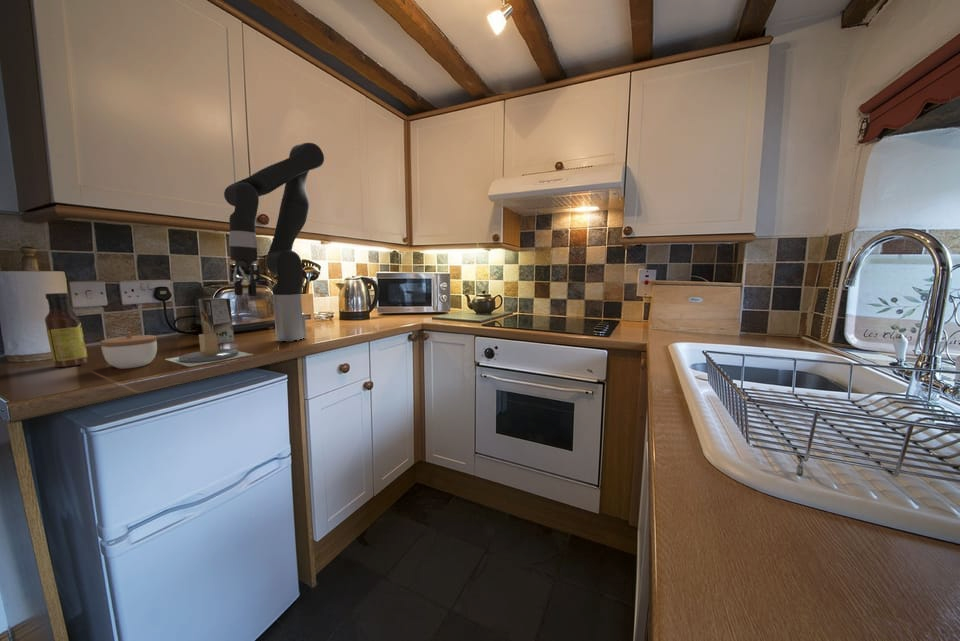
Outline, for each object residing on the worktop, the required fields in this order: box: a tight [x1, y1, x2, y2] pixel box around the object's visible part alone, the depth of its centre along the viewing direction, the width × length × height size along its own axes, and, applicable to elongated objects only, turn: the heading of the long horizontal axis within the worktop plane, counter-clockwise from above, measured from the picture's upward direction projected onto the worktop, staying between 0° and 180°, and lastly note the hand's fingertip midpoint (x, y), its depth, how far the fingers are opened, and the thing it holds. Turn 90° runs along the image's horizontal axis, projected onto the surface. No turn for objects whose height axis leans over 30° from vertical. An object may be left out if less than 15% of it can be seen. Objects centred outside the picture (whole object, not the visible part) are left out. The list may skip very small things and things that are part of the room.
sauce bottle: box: [44, 292, 88, 368], centre depth 94 cm, size 7×6×20 cm
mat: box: [164, 350, 254, 367], centre depth 104 cm, size 16×16×1 cm
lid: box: [178, 333, 239, 363], centre depth 103 cm, size 14×14×7 cm
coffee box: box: [198, 297, 235, 345], centre depth 126 cm, size 9×6×16 cm
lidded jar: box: [99, 331, 158, 369], centre depth 94 cm, size 11×11×9 cm
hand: (245, 295), depth 117 cm, fingers open, 8 cm apart
